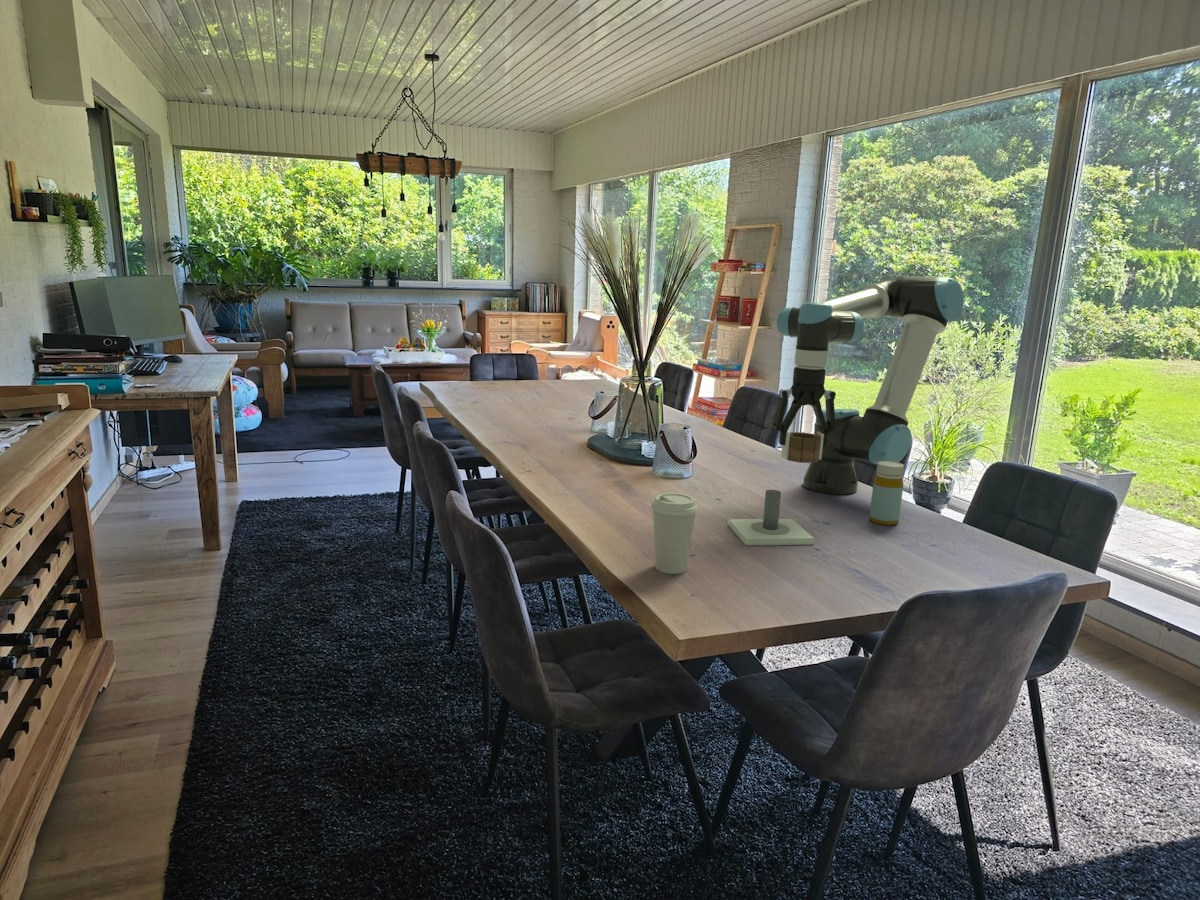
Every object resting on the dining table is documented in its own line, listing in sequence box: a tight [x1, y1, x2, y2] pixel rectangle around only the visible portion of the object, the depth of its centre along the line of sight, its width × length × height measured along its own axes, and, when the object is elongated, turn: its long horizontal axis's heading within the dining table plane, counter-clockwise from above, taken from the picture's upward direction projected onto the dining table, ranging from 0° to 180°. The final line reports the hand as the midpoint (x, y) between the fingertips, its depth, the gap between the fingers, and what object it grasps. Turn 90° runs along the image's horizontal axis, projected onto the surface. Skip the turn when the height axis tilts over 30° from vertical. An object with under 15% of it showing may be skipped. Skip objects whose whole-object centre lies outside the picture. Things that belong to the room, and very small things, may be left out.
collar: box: [786, 431, 821, 464], centre depth 192 cm, size 8×8×6 cm
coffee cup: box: [650, 492, 699, 575], centre depth 157 cm, size 10×10×15 cm
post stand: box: [728, 489, 815, 546], centre depth 180 cm, size 16×14×10 cm
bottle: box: [869, 461, 905, 526], centre depth 193 cm, size 7×7×15 cm
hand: (801, 457), depth 193 cm, fingers closed on collar, 8 cm apart
